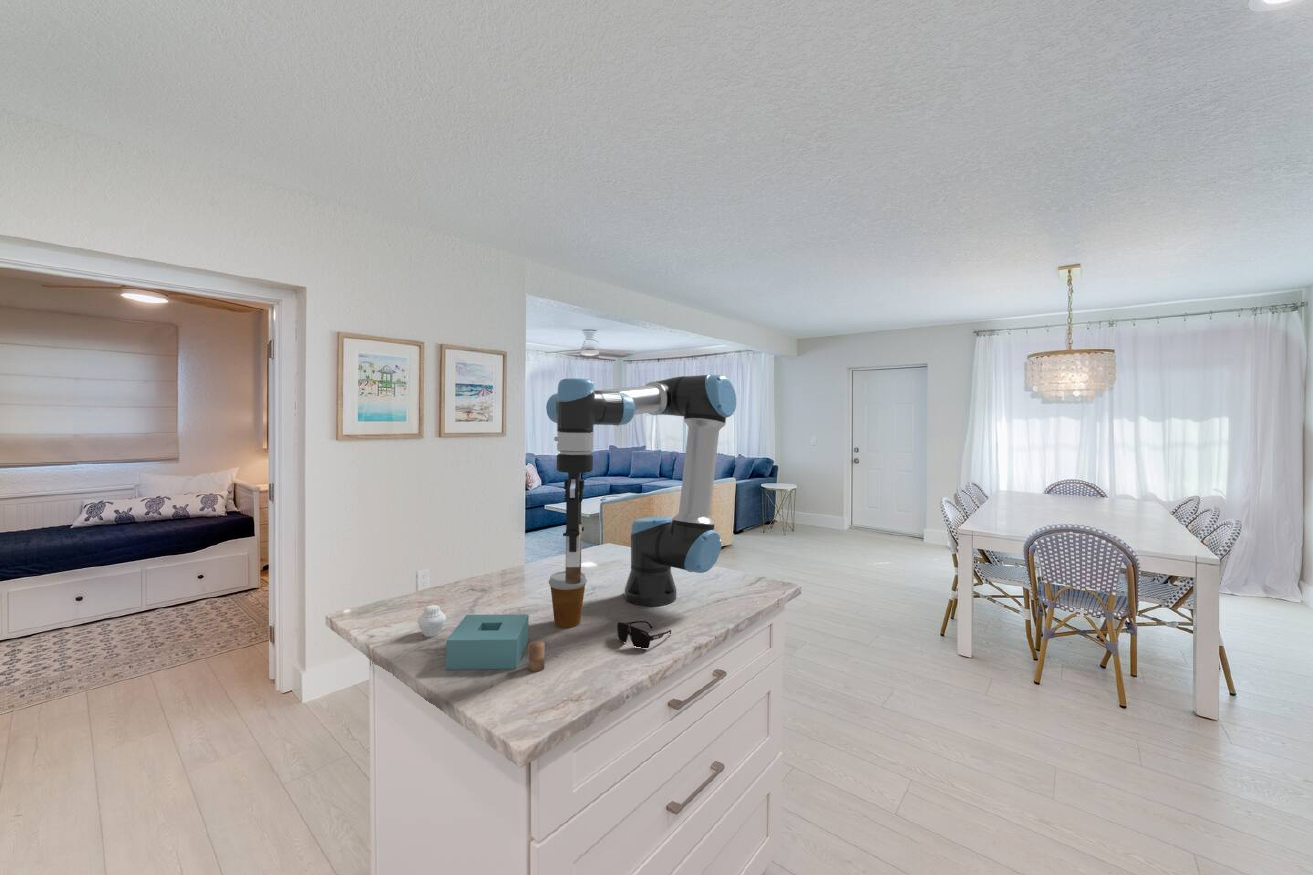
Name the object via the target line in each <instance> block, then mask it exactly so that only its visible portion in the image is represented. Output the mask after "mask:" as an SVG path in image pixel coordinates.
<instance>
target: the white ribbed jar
mask: <svg viewBox="0 0 1313 875" xmlns="http://www.w3.org/2000/svg"><path fill="white" fill-rule="evenodd" d="M446 619H447V616H446V614H445V613H443V612H442V610H441V607H440V606H439V605H437V604H431V605H428V606H426V607H424V609H423V612H422V614H421V615H420V616H419V617H418V618H417V625H418V627H419V629H420V631H421V632H422V634H423V636H424V637H426V638H427V637H428V638H433V637H436V636H439V634H440V632H442V629H443V627H444V626H445V622H446V621H447V620H446Z"/></svg>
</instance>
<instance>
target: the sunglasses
mask: <svg viewBox="0 0 1313 875" xmlns="http://www.w3.org/2000/svg"><path fill="white" fill-rule="evenodd" d="M639 623H642V624H643V623H645V624H647V625H648V626H649V628H653V629H654V627H653V626H652V625H651V624H650V622H648V621H646V620H637V621H636V620H635V621H630V622H621V621H618V622H617V626H616V628H617V630H616V632H617V636H618V639H620V640H621V641H620V640H619V641H620V642H622V641H623V642H625V644H626V643H627V641H628V638H629V636H630V640H631V643H632V645H633V647H634V646H636V647H641V648H648V649H649V648H650V643H651V642H653V641H655V640H658V639H659V640H660V639H661V638H663V636H664V635H666V634H671V635H672V630H671V629H669V630H667V631H665V632H660V633H657V634H651V635H650V633H649V632H647V631H646V630H644V629H641V628H640V627H637V626H635V625H634V624H639ZM623 642H622V643H623Z"/></svg>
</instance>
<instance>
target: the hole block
mask: <svg viewBox="0 0 1313 875" xmlns="http://www.w3.org/2000/svg"><path fill="white" fill-rule="evenodd" d="M529 620H530V619H529V614H526V613H525V614H522V613H521V614H520V613H519V614H518V613H514V614H513V613H512V614H466V615H465V616H464V617H463V618H462V620H461V621H460V622H459V624H458V625H457V626H456V627H455V629H454V630H453V631H452V633H451V634H449V636H448V638H447V639H446V643H445V648H446V649H445V660H446V662H445V669H446V671H448V670H450V671H451V670H452V671H453V670H502V669H503V670H505V669H506V670H509V669H511V670H513V669H514V670H515V669H518V666H519V663H520V661H521V659H522V656H523V654H524V651H525V649H526V647H527V644H528V641H529Z"/></svg>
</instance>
